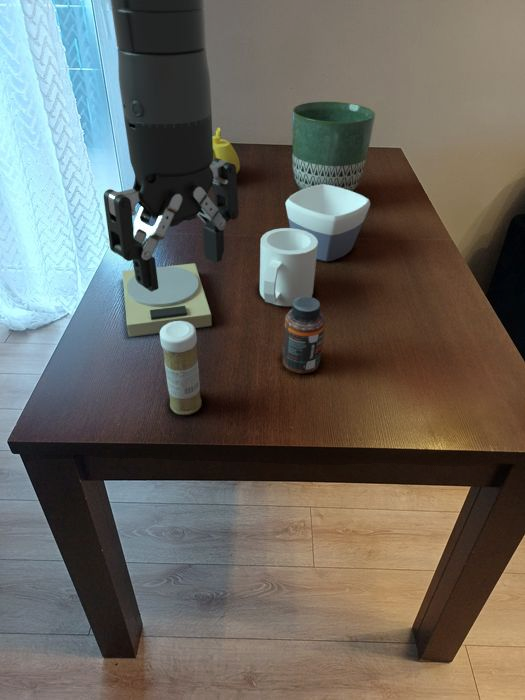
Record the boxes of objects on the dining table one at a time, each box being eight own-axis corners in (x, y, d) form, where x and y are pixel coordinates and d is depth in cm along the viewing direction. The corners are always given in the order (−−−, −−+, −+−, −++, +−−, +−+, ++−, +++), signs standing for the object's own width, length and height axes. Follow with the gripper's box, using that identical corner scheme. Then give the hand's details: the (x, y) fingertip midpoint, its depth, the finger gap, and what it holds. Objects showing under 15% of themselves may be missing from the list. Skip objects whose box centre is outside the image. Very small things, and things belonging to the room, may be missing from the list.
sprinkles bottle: (195, 390, 73) (188, 316, 64) (206, 410, 70) (201, 335, 61) (165, 399, 71) (154, 324, 63) (175, 420, 68) (165, 344, 60)
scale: (129, 337, 83) (126, 322, 81) (124, 282, 96) (121, 268, 94) (211, 325, 85) (210, 311, 84) (195, 274, 99) (194, 260, 97)
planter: (362, 188, 137) (375, 104, 123) (361, 217, 122) (375, 125, 108) (292, 182, 139) (297, 99, 125) (283, 210, 124) (287, 119, 110)
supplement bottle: (321, 376, 76) (328, 316, 69) (282, 375, 76) (286, 314, 69) (318, 351, 81) (325, 292, 73) (281, 350, 81) (285, 291, 73)
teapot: (192, 166, 148) (189, 125, 140) (242, 167, 148) (241, 126, 140) (182, 191, 132) (178, 147, 125) (237, 193, 132) (237, 148, 125)
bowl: (273, 247, 108) (275, 198, 101) (317, 226, 117) (321, 180, 110) (330, 273, 100) (336, 221, 93) (371, 248, 109) (380, 199, 102)
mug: (297, 321, 87) (301, 268, 80) (244, 308, 90) (244, 255, 83) (319, 284, 97) (324, 234, 90) (270, 273, 100) (272, 224, 93)
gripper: (203, 89, 48) (210, 240, 59) (69, 113, 40) (105, 283, 51) (256, 103, 44) (254, 263, 55) (120, 134, 36) (147, 314, 47)
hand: (182, 273), depth 53 cm, fingers open, 8 cm apart
